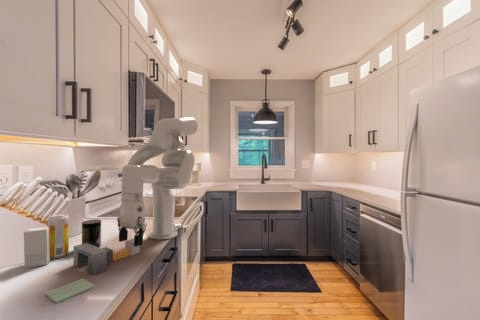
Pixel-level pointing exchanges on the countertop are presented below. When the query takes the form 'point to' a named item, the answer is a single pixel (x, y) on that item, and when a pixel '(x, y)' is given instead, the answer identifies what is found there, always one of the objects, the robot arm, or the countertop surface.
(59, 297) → the mat
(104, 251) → the block
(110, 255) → the plug
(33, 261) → the skincare box
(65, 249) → the beer can
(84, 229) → the supplement container
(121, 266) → the countertop surface
